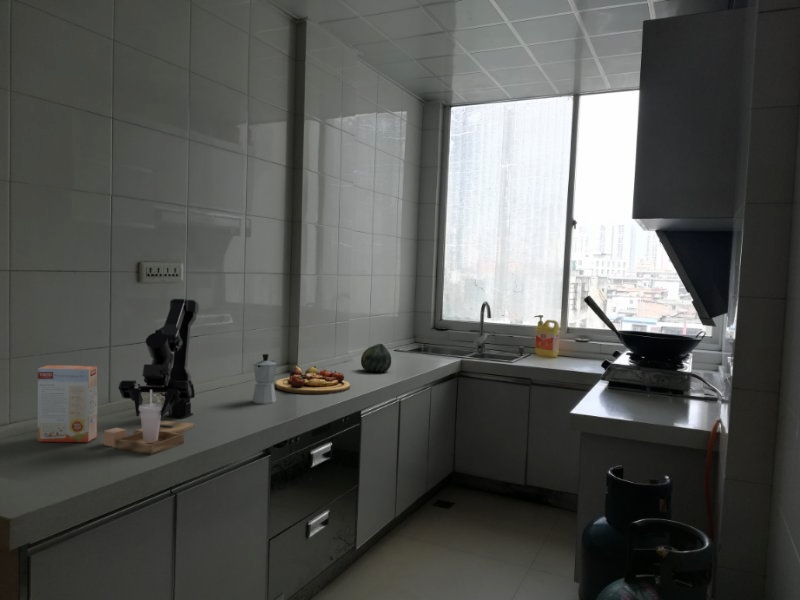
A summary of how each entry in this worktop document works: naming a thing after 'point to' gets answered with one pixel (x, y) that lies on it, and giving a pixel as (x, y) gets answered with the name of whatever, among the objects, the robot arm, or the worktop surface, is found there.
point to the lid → (172, 427)
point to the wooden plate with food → (313, 382)
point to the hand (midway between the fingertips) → (149, 415)
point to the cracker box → (67, 403)
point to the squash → (376, 358)
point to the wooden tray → (150, 448)
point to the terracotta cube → (113, 436)
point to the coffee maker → (264, 381)
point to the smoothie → (150, 419)
